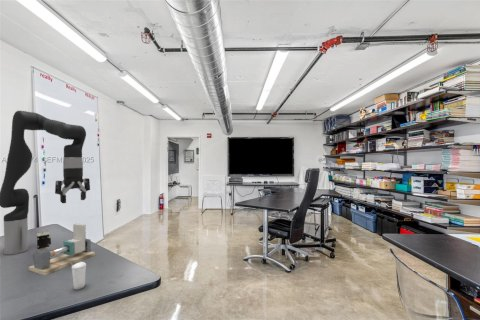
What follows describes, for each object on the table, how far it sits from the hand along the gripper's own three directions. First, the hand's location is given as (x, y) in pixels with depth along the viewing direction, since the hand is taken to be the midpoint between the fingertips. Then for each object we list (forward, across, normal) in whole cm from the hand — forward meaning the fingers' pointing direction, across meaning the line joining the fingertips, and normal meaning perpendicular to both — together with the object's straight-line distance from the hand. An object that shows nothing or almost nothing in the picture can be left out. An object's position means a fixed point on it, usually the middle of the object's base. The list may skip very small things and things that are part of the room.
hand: (73, 201), depth 111 cm
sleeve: (+25, -3, -4) cm, 26 cm away
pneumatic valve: (+29, 0, -24) cm, 38 cm away
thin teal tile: (+26, 0, -4) cm, 26 cm away
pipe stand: (+29, +2, -4) cm, 29 cm away
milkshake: (+29, +13, +25) cm, 40 cm away
